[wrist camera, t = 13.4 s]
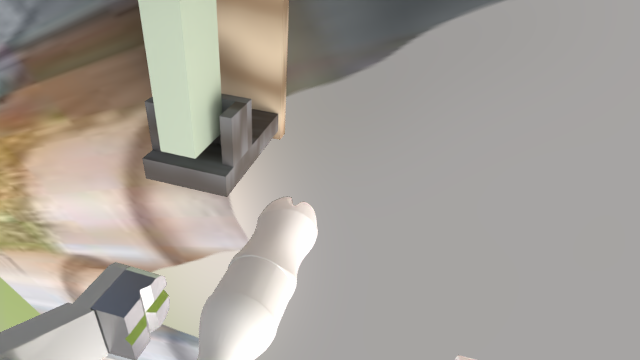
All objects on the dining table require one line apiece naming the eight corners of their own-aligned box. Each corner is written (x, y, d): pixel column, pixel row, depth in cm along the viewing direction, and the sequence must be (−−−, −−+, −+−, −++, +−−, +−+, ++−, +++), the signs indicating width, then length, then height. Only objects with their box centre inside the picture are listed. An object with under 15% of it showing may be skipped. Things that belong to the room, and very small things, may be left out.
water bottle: (282, 241, 57) (184, 432, 37) (257, 196, 54) (135, 377, 34) (332, 232, 54) (254, 435, 34) (308, 184, 51) (207, 375, 31)
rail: (163, -160, 28) (112, -169, 23) (207, -156, 27) (162, -166, 23) (192, 124, 39) (160, 151, 35) (223, 130, 38) (195, 158, 34)
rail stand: (195, -225, 33) (57, -287, 22) (295, -220, 32) (203, -284, 20) (217, 120, 49) (145, 187, 38) (284, 133, 48) (230, 207, 37)
